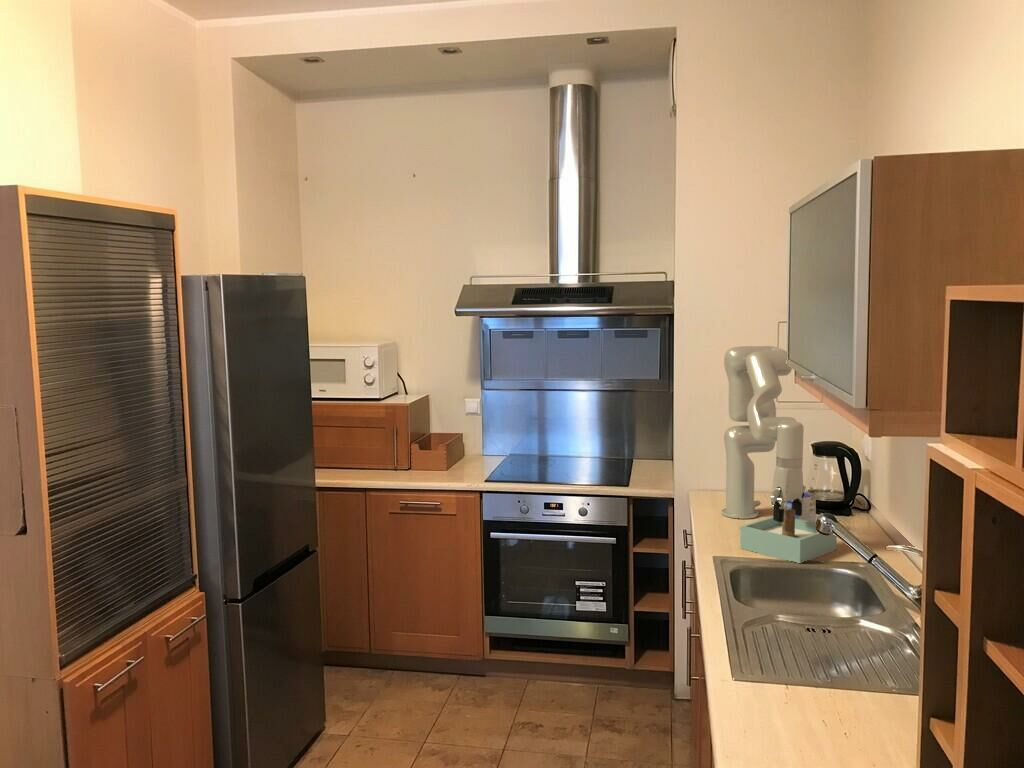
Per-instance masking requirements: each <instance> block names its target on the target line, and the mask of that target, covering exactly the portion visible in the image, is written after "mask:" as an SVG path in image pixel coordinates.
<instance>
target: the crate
mask: <svg viewBox="0 0 1024 768" xmlns="http://www.w3.org/2000/svg"><path fill="white" fill-rule="evenodd" d="M816 523H817V522H816ZM816 523H814V522H810V521H805V520H800V519H795V538H794V537H790V536H785V535H782V522H778V521H774V520H773V516H769V517H766V518H763V519H759V520H757V521H752V522H751V523H747V524H743V525H740V538H739V539H740V543H739V547H740V548H739V549H740V550H743V549H744V551H747V550H748V552H751V551H753V552H752V553H755V552H757V553H756V554H759V553H761V554H760V555H763V554H765V555H764V556H767V555H769V556H768V557H771V556H773V557H772V558H775V557H776V559H778V558H780V559H779V560H782V559H785V560H784V561H786V560H789V561H788V562H790V561H794V562H797V563H796V564H798V563H801V562H804V561H806V562H808V561H807V560H809V561H811V560H814V559H817V558H819V557H821V555H822V556H824V555H827V554H829V553H828V552H830V553H832V552H834V550H835V551H836V550H837V542H838V541H837V536H838V535H837V536H835V535H833V534H831V535H828V536H825V535H822V534H820V533H819V532H817V530H816ZM831 551H832V552H831ZM826 553H827V554H826ZM823 554H824V555H823ZM818 556H819V557H818ZM816 557H817V558H816ZM813 558H814V559H813ZM794 562H793V563H794ZM804 563H805V562H804ZM801 564H802V563H801Z"/></svg>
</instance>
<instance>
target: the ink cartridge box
mask: <svg viewBox="0 0 1024 768" xmlns="http://www.w3.org/2000/svg"><path fill="white" fill-rule="evenodd" d="M804 494H805V495H804V497H803V503H802V515H801V516H797V515H795V519H800V520H805V521H810V522H814V523H817V521H816V520H817V517H816V514H817V508H816V504H817V503H816V501H817V500H816V499H817V498H816V497H817V495H816V494H815V493H810V492H806V491H805V493H804ZM792 501H793V500H791V501H788V502H785V509H792Z"/></svg>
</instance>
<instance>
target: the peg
mask: <svg viewBox="0 0 1024 768" xmlns="http://www.w3.org/2000/svg"><path fill="white" fill-rule="evenodd" d="M783 509H784V522H782V535H785V536H790V537H794V538H795V510H792V509H786V508H783Z"/></svg>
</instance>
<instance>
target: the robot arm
mask: <svg viewBox="0 0 1024 768" xmlns="http://www.w3.org/2000/svg"><path fill="white" fill-rule="evenodd" d="M787 353H788V351H786V350H785V349H782V348H779V347H777V346H773V345H758V346H755V345H747V346H744V345H743V346H735V347H731V348H728V349H727V350H726V352H725V354H724V359H723V365H724V369H725V370H724V371H725V373H726V377H727V381H728V414H729V415H728V416H729V418H730V419H731V420H732V421H733V422H737V423H738V422H739V423H748V424H747V425H733V426H729V427H728V428H727V429H726V430H725V431H724V434H723V442H724V448H725V449H724V450H725V458H726V459H725V460H726V461H725V462H726V464H725V465H726V468H725V469H726V470H725V471H726V472H725V474H726V476H725V477H726V478H725V479H726V480H725V481H726V482H725V484H726V487H725V489H726V490H725V495H726V496H725V500H726V501H725V508H723V509H721V515H722V516H724V517H726V518H730V519H731V518H732V519H738V518H739V520H740V519H741V520H744V519H745V520H748V519H749V520H750V519H755V518H758V517H759V511H758V510H756V507H759V506H761V504H762V503H761V501H760V499H759V500H755V464H754V462H753V460H752V459H751V458H750V456H749V455H748V454H751V453H754V454H755V453H770V452H772V451H773V450H774V449H775V447H776V452H775V453H776V454H775V455H776V457H775V458H776V459H775V468H774V472H773V479H772V488H771V492H772V493H771V494H770V501H771V505H772V509H773V511H772V512H773V515H772V517H773V520H774V521H778V522H784V509H785V508H784V506H785V505H786V502H788V501H791V500H793V501H792V510H795V515H797V516H801V515H802V503H803V497H804V495H805V494H804V493H805V492H806V490H807V488H806V486H805V485H804V474H803V463H804V461H803V460H804V459H803V458H804V457H803V455H804V429H805V428H804V425H803V424H802V423H801V422H799V421H797V419H795V418H794V417H792V416H777V408H776V407H777V406H776V402H775V399H777V398H778V397H779V396H780V395H781V394H782V390H783V388H782V384H781V381H780V378H779V377H780V376H781V377H784V376H789V375H790V374H791V372H792V370H793V367H792V368H791V367H789V366H788V365H787V364H786V360H787Z"/></svg>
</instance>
